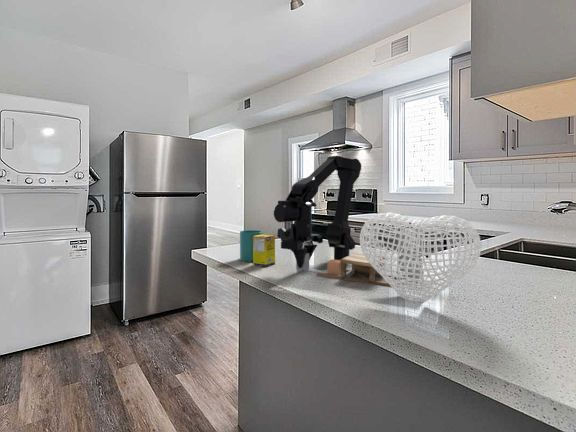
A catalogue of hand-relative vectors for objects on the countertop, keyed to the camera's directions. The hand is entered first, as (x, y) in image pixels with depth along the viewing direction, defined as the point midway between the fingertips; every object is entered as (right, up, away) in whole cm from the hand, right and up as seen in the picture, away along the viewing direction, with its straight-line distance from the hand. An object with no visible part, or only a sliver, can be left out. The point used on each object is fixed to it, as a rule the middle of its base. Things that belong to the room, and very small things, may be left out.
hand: (302, 266), depth 115 cm
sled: (+7, -2, -4) cm, 8 cm away
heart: (+26, -5, -31) cm, 41 cm away
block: (+10, -1, -6) cm, 12 cm away
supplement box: (-14, -1, +12) cm, 18 cm away
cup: (-18, 0, +22) cm, 29 cm away
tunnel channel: (+18, -3, -11) cm, 21 cm away
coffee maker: (+35, -3, -6) cm, 35 cm away
